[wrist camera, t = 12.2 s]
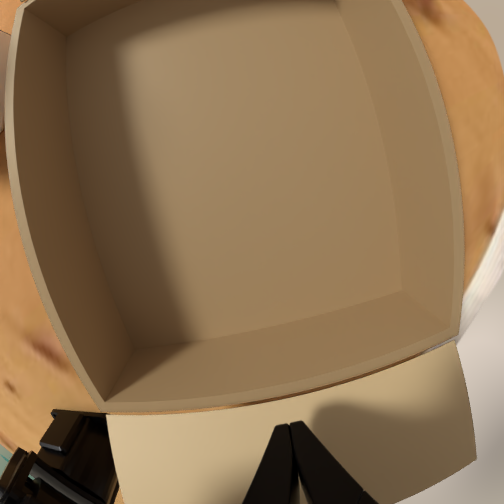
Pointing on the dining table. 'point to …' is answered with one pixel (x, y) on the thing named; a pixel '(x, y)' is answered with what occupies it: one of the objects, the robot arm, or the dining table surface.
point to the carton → (232, 193)
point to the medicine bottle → (3, 73)
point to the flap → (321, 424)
